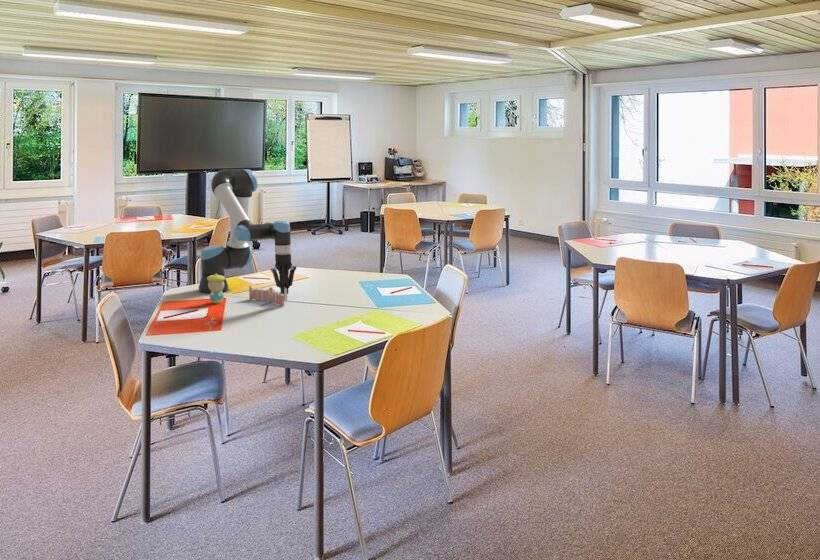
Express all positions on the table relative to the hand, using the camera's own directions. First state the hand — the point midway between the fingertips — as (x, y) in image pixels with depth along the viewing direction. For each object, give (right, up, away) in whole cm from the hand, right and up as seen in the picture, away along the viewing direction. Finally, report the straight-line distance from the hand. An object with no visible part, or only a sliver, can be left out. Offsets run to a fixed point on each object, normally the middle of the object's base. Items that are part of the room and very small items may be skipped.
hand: (284, 300), depth 325 cm
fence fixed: (-13, 0, +8) cm, 15 cm away
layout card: (-9, -2, +3) cm, 9 cm away
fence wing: (-3, -2, +1) cm, 4 cm away
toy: (-34, -2, +2) cm, 34 cm away
